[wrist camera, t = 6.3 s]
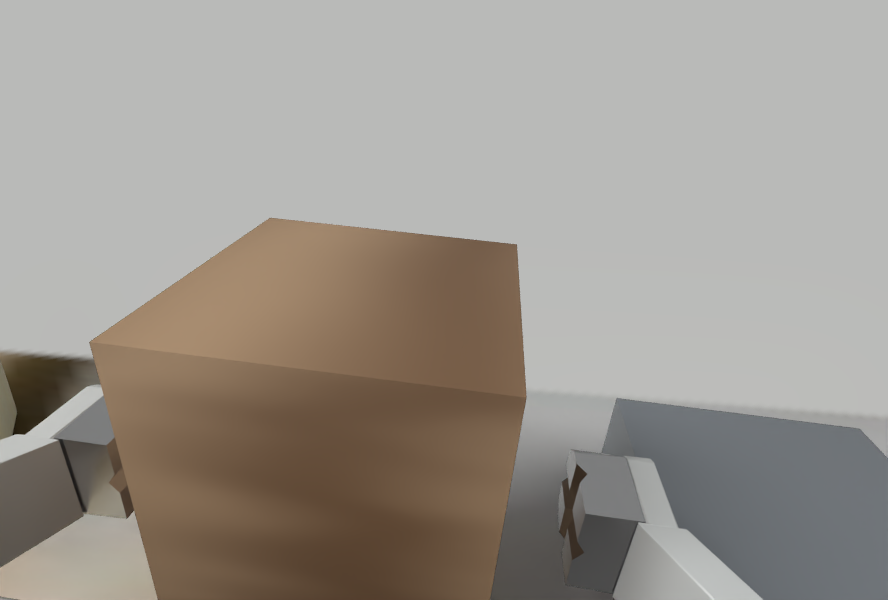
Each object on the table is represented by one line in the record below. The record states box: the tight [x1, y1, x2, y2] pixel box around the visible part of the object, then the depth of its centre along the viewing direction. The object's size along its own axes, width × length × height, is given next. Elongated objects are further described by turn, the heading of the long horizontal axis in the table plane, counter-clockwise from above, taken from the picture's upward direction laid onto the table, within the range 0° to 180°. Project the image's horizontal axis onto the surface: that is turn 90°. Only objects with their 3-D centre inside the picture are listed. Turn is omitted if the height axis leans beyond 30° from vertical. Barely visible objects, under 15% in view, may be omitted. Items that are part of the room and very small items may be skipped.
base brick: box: [602, 398, 888, 600], centre depth 14 cm, size 8×8×3 cm
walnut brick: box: [89, 218, 526, 600], centre depth 10 cm, size 5×5×10 cm
